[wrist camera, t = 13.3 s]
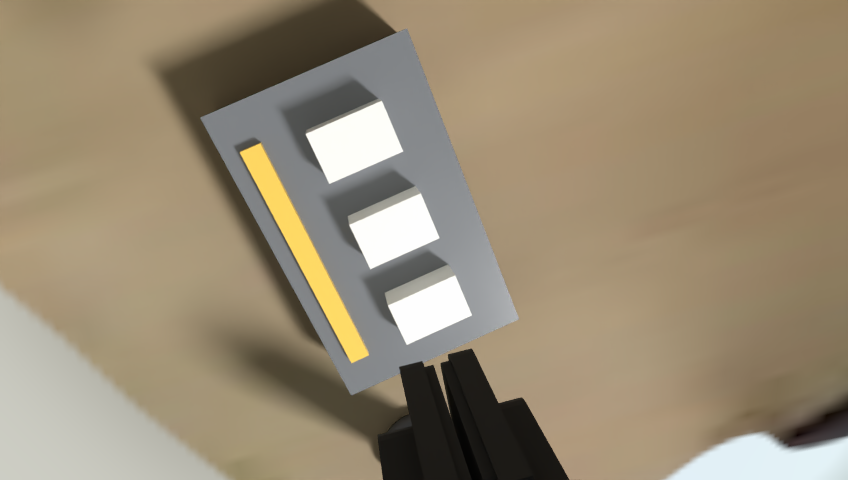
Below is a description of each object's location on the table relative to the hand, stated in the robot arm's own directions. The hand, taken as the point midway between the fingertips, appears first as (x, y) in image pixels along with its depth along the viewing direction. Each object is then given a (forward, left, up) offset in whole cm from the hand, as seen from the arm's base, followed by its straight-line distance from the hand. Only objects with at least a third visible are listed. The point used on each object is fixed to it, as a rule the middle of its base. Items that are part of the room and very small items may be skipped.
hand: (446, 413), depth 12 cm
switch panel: (0, 0, -20) cm, 20 cm away
